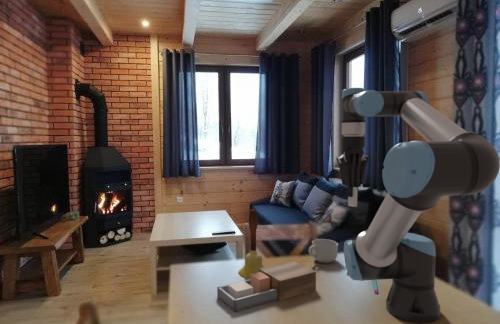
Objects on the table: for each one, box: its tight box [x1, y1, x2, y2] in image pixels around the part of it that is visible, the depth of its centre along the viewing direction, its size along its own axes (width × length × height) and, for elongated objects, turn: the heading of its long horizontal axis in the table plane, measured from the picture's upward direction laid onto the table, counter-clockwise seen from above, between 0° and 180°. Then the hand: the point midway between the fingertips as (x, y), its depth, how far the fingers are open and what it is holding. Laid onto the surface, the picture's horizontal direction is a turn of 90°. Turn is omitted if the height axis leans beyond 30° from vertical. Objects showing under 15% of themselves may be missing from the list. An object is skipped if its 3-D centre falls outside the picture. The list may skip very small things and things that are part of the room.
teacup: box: [308, 238, 339, 264], centre depth 159 cm, size 14×11×8 cm
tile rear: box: [250, 272, 270, 294], centre depth 127 cm, size 6×6×4 cm
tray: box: [216, 279, 278, 313], centre depth 125 cm, size 12×16×4 cm
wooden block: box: [259, 260, 317, 301], centre depth 132 cm, size 13×15×6 cm
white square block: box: [227, 280, 253, 299], centre depth 124 cm, size 6×6×4 cm
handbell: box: [237, 208, 265, 280], centre depth 146 cm, size 12×12×25 cm
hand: (352, 206), depth 127 cm, fingers closed
